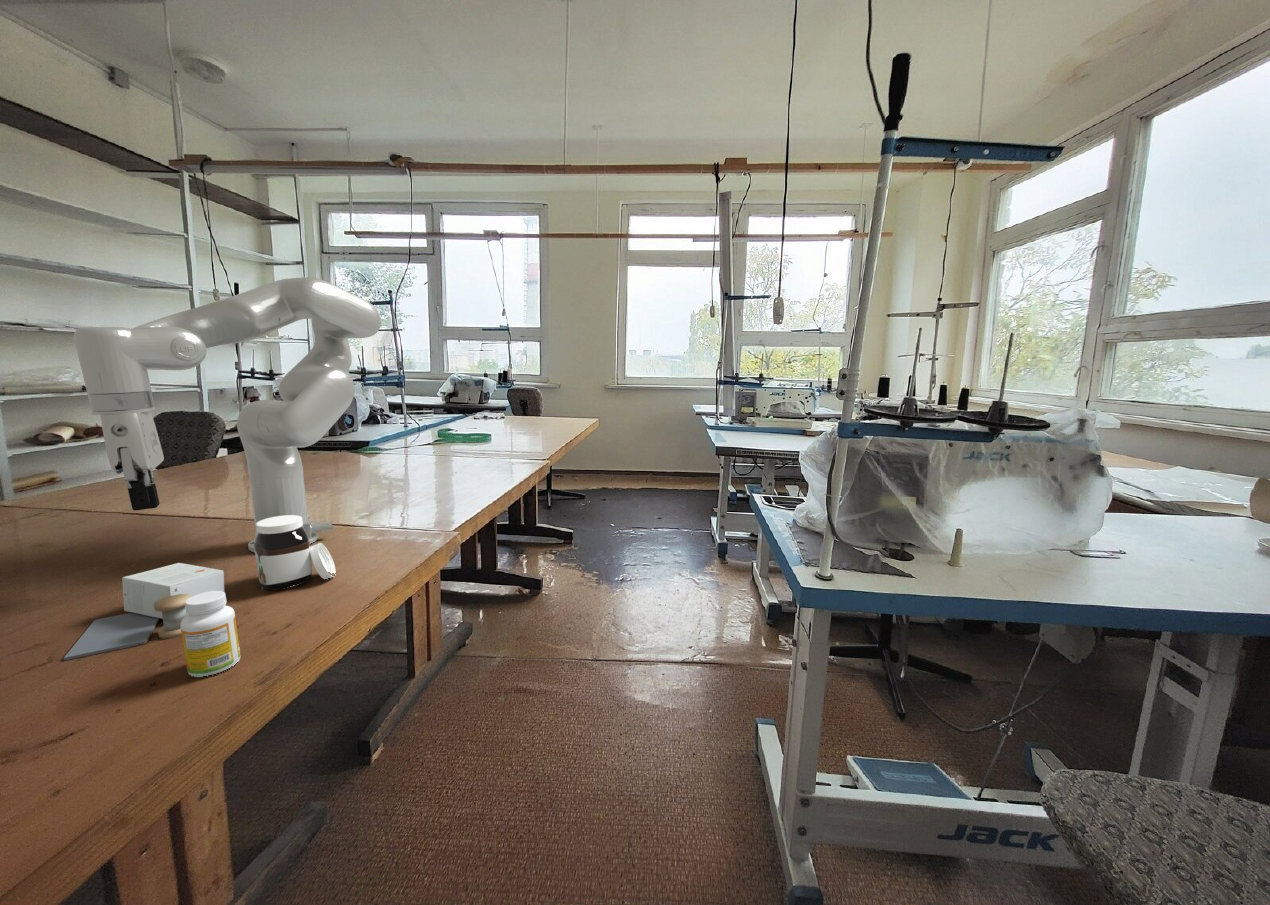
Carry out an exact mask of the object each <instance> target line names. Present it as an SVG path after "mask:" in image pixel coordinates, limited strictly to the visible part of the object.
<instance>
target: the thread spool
mask: <svg viewBox="0 0 1270 905" xmlns="http://www.w3.org/2000/svg"><path fill="white" fill-rule="evenodd" d="M190 597H191V596H190V595H189V594H178V595H172V596H168V597H165V598H162V599H160V600H158V601H156V602H155V603H154V610H155V611H157V612H162V617H163V619H162V622H163V626H162V627H160V628H159V629H158V630H157V633H158V638H159V639H162V640H167V639H174V638H179V637H182V633H181V626H180V624H181V621H182V620H183V618H184V617H185V616H187V613H186V608H185V601H186V600H187V599H188V598H190Z"/></svg>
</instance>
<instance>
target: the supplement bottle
mask: <svg viewBox="0 0 1270 905" xmlns="http://www.w3.org/2000/svg"><path fill="white" fill-rule="evenodd" d="M226 596H227V595H226V592H225V591H224V592H223V591H209V592H204V593H200V594H197V595H195V596H192V597H190V598H188V599H187V600H186V601H185V608H186V613H187V614H188V615H187V616H185V617H184V618H183V620H182V621H181V624H180V626H181V633H182V636H181V639H182V644H183V652H184V657H185V665H186V669H187V673H188V675H189V676H190V675H191V677H193V676H194V677H193V678H204V677H203V676H207V677H209V676H208V675H211V674H216V673H218V672H221V671H223V670H226V669H228V668H230V667H231V666H233V667H234V665H235V664H236V663H237V662H238V663H239V662H240V660H241V658H242V657H241V649H240V642H239V634H238V627H237V626H238V625H237V620H236V612H235V610H234V608H233V607H231V606H229V605H227V597H226ZM238 663H237V664H238ZM237 664H236V665H237ZM236 665H235V666H236ZM230 669H231V668H230ZM228 670H229V669H228ZM226 671H227V670H226ZM216 675H217V674H216Z"/></svg>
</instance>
